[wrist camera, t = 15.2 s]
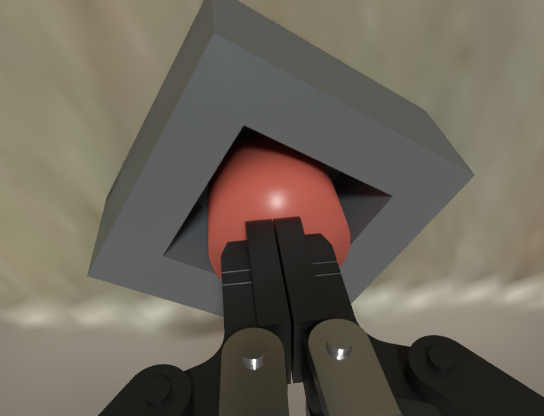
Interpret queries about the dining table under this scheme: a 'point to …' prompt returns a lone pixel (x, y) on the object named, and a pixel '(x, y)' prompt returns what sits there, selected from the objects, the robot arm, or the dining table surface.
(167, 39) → the dining table surface
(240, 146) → the button
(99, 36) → the dining table surface
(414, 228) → the button console
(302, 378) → the robot arm
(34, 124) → the dining table surface
